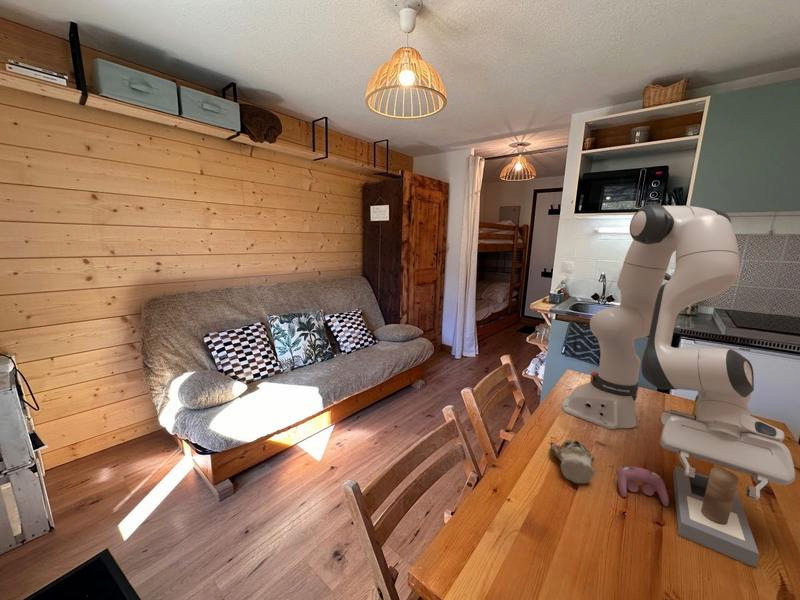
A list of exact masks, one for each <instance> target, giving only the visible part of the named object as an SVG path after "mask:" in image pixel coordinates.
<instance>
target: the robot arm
mask: <svg viewBox="0 0 800 600" xmlns="http://www.w3.org/2000/svg"><path fill="white" fill-rule="evenodd" d="M629 234H630V237H631V238H632V242H631V243H630V246H629V248H628V250H627V253H626V255H625V257H624V260H623V263H622V268H621V270H620V273H619V278H618V280H617V283H616V286H617V288H618V290H619V291H620V304H619V306H612V307H611V306H610V307H606V308H603V309H601V310H599V311H597V312H595V313H594V314H592V316H591V318H590V320H589V328H590V331H591V333H592V335H594V337H595V338H596V339H597V341H598V342H597V343H598V345H599V353H600V357H599V365H598V366H599V367H598V371H597V370H592V371H591V373H590V382H588V383H585V384H582V385H578V386H576V387H575V388H573V390H572V391H571V394H570V395H569V396H567V397H565V398H564V399H563V400H562V403H561V409H562V411H563V412H565V413H567V414H569V415H572V416H575V417H577V418H578V419H579V418H580V419H583V420H585V421H587V422H589V423H592V424H594V425H598V426H600V427H603V428H605V429H607V430H617V429H632V428H635V427H637V425H638V422H637V417H636V415H637V414H636V400H637V398H638V394H639V381H638V380H639V376H640V375H639V373H640V367H641V373H642V377H643V378H644V380H646V381H647V382H648V383H650V384H651V385H652V386H653V387H655V388H656V389H658V390H681V391H683V390H685V391H695V392H697V395H698V396H699V397H698V400H697V402H696V409H695V415H692V413H688V412H681V411H678V410H674V409H670V410H664V411H662V412H661V416H660V423H661V424H662V425H663V427H662V431H661V433H660V438H659V444H660V445H661V447H662V448H663V449H665V450H669V451H671V452H673V453H674V452H675V453H677V454H678V459H679V461H680V462H681V464H682V466H683V468H684V469H685V471H684V475H685V476H688V477H691V478H694V477H695V473H694V472H696V467H692V466H691V465H690V463H689V462H688V459H689V457H690V458H693V459H697V460H701V461H703V462H706V463H710V464H713V465H716V466H719V467H722V468H726V469H728V470H731V471H736V472H738V473H742V474H745V475H748V476H751V477H753V482H754V483H757V484H756V485H755V486H751V485H749V486H746V488H745V489H746V490H745V491H746V494H745V495H746V497H747V498H750V499H753V500H756V501H758V500H760V497H761V490H762V489H763V488H764V487H766V485H767V484H768V483H769V482H770V483H773V484H776V485H779V486H787V485H790V484H791V483H793V482H794V481H795V480H796V472H795V471H796V470H795V466H794V460H793V457H792V456H793V455H792V453H791V451H790V449H789V448H788V447H787V446H786V445H785V444H784V443H783V441H784V440H785V432H784V431H783V430H782V429H779V428H777V427H776V426H773V425H771V424H769V423H766V422H764V421H762V420H760V419H758V418H756V417H754V416H752V415H751V410H750V408H749V401H750V398H751V394H752V393H753V392H754V390H755V388H754V387H755V385H754V384H755V383H754V382H755V381H754V375H755V374H754V369H753V365H752V363H751V362H750V360H749V359H747V358H746V357H745V356H744V355H742V354H740V353H739V352H738V351H736V350H734V349H731V348H720V347H719V348H718V347H717V348H715V347H713V348H712V347H701V348H698V347H674V346H672V341H673V336H674V330H675V325H676V320H677V316H678V315H679V314H680V313H681V311H683V310H685V309H686V308H689V307H691V306H692V305H694V304H697V303H700V302H703V301H705V300H709V299H712V298H715V297H716V296H719V295H720V294H722V293H725V292H726V291H728V290H729V289H730V288H731V287H732V286H733V285H734V284H735V283H736V282H737V281H738V279H739V276H740V266H741V265H740V261H741V260H740V251H739V246H738V241H737V238H736V234H735V231H734V228H733V225H732V220H731V218H730V216H729V215H728V214H727V213H726V212H723V211H722V210H719V209H714V208H705V207H699V206H692V205H663V204H662V205H661V204H651V205H645V206H642V207H641V208H639V209H638V210H637V211H636V212H635V214H633V216H632V218H631V220H630V224H629ZM674 252H675V268H674V272H673V273H672V275H671V277H670V278H669V280H668V281H667V282H665V283H663V282H664V279H665V276H666V274H667V271H668V268H669V265H670V261H671V258H672V255H673V253H674ZM645 337H646V338H647V343H646V346H645V349H644V353H643V355H642V359H640V357H639V355H637V353H636V350H635V340H636V339H642V338H645Z"/></svg>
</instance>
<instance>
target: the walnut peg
mask: <svg viewBox="0 0 800 600" xmlns="http://www.w3.org/2000/svg"><path fill="white" fill-rule="evenodd" d="M709 472H710V473H709V476H708V477H709V480H708V484H707V488H706V492H705V497H704V501H703V505H702V509H701V512H702V514H703V515H704V516H705V517H706V518H707V519H709V520H711V521H713V522H715V523H717V524H722V525H725V524H727V522H728V518H729V515H730V511H731V507H732V503H733V499H734V495H735V492H736V489H737V487H738V483H739V478H738V476H737V475H735V474H734V473H733V472H731V471H729V470H726V469H724V468H721V467H717V466H715V467H711V469H710V471H709Z"/></svg>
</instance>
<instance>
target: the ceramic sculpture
mask: <svg viewBox="0 0 800 600" xmlns="http://www.w3.org/2000/svg"><path fill="white" fill-rule="evenodd" d="M549 449H550V451H551V453H552V455H553V456H555V457H556V458H557V459H558V460H559V461H560V462H561V463H560V470H561V474H562V475H563V476H564V478H565V479H567V480H569V481H570V482H572V483H575V484H588V483H590V481H592V479H593V477H594V476H595V469H594V468H593V466H592V463H594V461H595V457H594V456H593V455H592V454H591V452H590V451H589V449H587V447H586V446H585V444H583V443H582V442H580V441H577V440H572V439H567V440H565V441H564V442H562V444H561V445H559V444H556V443H554V442H552V441H551V443H550V448H549Z"/></svg>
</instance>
